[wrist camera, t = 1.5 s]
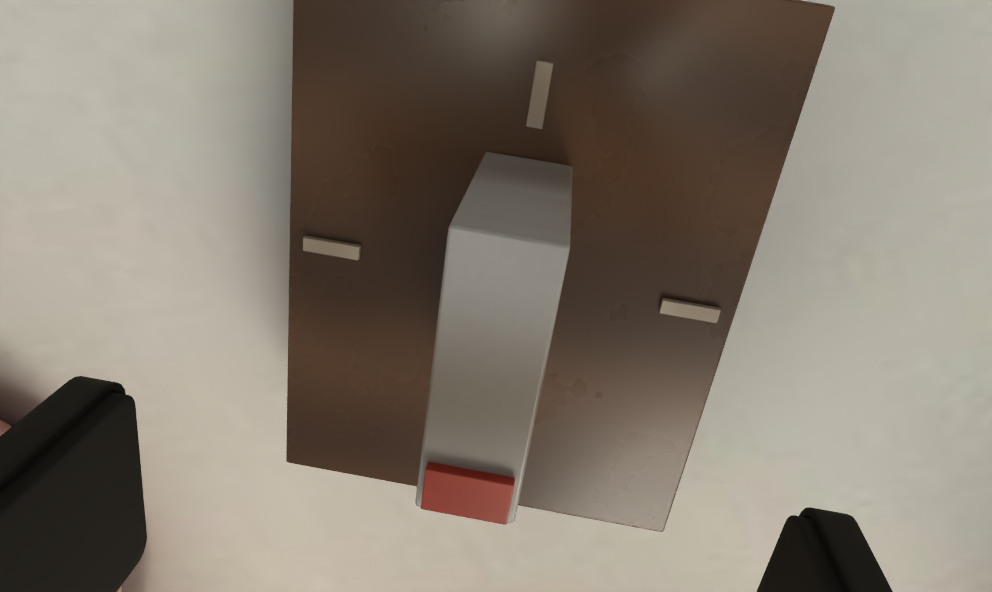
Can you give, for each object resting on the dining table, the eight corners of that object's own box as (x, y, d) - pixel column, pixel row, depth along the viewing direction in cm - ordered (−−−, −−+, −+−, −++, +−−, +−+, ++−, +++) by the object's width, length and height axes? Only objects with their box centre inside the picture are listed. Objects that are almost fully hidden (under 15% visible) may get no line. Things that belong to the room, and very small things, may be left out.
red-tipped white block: (485, 150, 16) (446, 230, 11) (572, 165, 16) (570, 251, 11) (454, 375, 19) (411, 515, 14) (529, 388, 18) (512, 534, 14)
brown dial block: (339, -74, 17) (291, -81, 14) (794, -1, 17) (839, 6, 14) (319, 404, 23) (283, 466, 20) (653, 465, 23) (663, 537, 20)
